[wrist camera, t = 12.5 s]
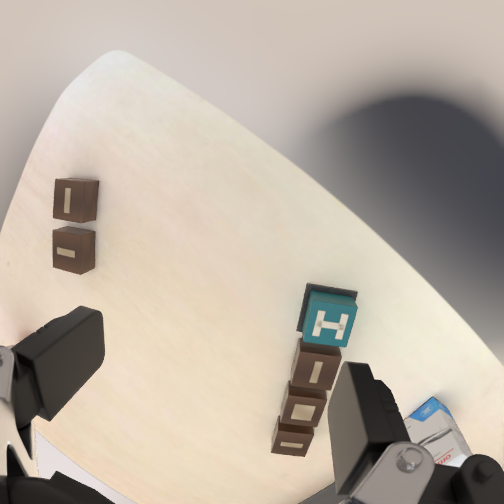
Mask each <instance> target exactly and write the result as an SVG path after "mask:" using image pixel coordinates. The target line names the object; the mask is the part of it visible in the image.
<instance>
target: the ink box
mask: <svg viewBox="0 0 504 504" xmlns="http://www.w3.org/2000/svg"><path fill="white" fill-rule="evenodd" d="M404 424H405V426H406V429H407V431H408V434H409V437H410V439H411V442H413V443H416V444H419V445H421V446H423V447H424V448H426V449H427V450H428V451H429V452H430V453H431V455H432V456H433V458H434V462H435V463H437V464H442V465H448V466H455V467H460V466H461V465H462V463H463V462H464V461H465V459H466V458H468V457H469V456H471V455H473V454H472V452H471V450H470V448H469V446H468V444H467V442H466V441H465V439H464V437H463V435H462V433H461V431H460V429H459V428H458V426H457V424H456V422H455V420H454V419H453V417H452V415H451V413H450V411H449V410H448V408H446V407H445V406H444V405H443V404H441V403H440V402H439V401H438V400H437V399H435V398H434V397H432V398H431V399H430V400H428V401H427V402H426V403H425V404H424V405H423V406H421V407H420V408H419V409H418V410H417V411H415V412H414V413H413V414H412V415H410V416H409V417H408V418H407V419H405V420H404Z"/></svg>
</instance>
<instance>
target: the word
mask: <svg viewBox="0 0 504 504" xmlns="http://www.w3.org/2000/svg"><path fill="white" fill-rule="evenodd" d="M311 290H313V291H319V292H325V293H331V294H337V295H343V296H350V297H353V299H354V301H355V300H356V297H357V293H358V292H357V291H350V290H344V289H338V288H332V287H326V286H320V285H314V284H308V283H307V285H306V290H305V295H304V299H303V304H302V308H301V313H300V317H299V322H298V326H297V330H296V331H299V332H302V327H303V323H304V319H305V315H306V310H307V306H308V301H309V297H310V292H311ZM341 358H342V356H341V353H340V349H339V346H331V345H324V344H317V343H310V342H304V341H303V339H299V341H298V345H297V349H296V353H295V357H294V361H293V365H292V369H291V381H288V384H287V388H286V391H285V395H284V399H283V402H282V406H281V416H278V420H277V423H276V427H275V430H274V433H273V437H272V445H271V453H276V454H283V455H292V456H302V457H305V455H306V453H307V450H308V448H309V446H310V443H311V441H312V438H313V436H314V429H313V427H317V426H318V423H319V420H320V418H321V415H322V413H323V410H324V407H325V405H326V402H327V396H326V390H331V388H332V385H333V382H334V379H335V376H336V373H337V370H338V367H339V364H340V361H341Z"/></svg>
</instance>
